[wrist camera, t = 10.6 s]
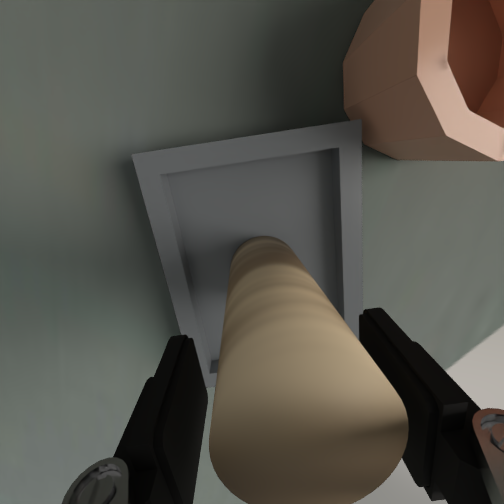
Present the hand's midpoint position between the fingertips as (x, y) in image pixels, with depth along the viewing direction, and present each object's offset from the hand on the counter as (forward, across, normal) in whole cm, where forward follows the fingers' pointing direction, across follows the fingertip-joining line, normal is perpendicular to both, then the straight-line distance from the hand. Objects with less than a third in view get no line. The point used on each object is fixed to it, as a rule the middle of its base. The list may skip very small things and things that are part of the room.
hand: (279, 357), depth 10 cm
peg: (+8, 0, 0) cm, 8 cm away
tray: (+10, 0, 0) cm, 10 cm away
